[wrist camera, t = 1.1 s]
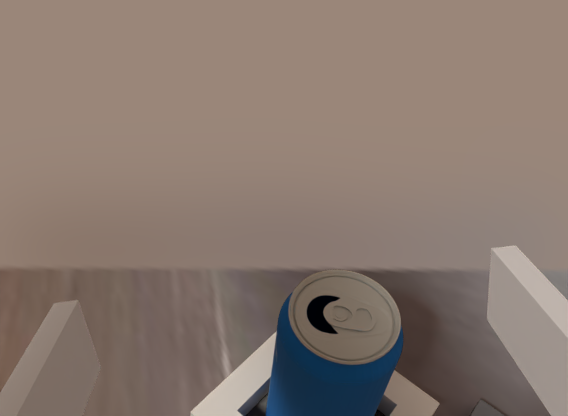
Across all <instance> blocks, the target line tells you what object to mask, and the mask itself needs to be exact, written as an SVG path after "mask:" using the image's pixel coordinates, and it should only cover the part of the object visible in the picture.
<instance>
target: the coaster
mask: <svg viewBox="0 0 568 416" xmlns="http://www.w3.org/2000/svg"><path fill="white" fill-rule="evenodd" d="M470 416H504V415H503V414H502V413H500V412H499V411H497V410H496V409H495V408H493V407H492V406H490V405H489V404H487V403H486V402H485V401H483V400H482V399H480V401H479V402H478V404H477V405H476V407H475V408H474V410H473V411H472V413H471V415H470Z"/></svg>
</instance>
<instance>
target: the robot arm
mask: <svg viewBox="0 0 568 416" xmlns="http://www.w3.org/2000/svg"><path fill="white" fill-rule="evenodd" d="M487 320H488V322H489V323H490V325H491V326H492V328H493V329H494V331H495V332H496V334H497V335H498V337H499V338H500V340H501V341H502V343H503V344H504V346H505V347H506V349H507V350H508V352H509V353H510V355H511V356H512V358H513V359H514V361H515V362H516V364H517V365H518V367H519V368H520V370H521V371H522V373H523V374H524V376H525V377H526V379H527V380H528V382H529V383H530V385H531V386H532V388H533V389H534V391H535V392H536V394H537V395H538V397H539V398H540V400H541V401H542V403H543V404H544V406H545V407H546V409H547V410H548V412H549V413H550V415H551V416H568V300H567V299H566V298H565V297H564V296H563V295H562V294H561V293H560V292H559V291H558V290H557V289H556V288H555V287H554V286H553V285H552V283H551V282H550V281H549V280H548V279H547V278H546V277H545V276H544V275H543V274H542V273H541V272H540V271H539V270H538V269H537V268H536V267H535V266H534V265H533V264H532V263H531V261H530V260H529V259H528V258H527V257H526V256H525V255H524V254H523V253H522V252H521V251H520V250H519V249H518V248H517V247H516V246H507V247H499V248H492V249H491V261H490V277H489V293H488V309H487ZM100 369H101V366H100V363H99V360H98V357H97V354H96V351H95V348H94V345H93V342H92V339H91V336H90V333H89V331H88V328H87V325H86V322H85V319H84V316H83V313H82V310H81V307H80V304H79V301H78V300H75V301H67V302H59V303H54V304H53V306H52V308H51V309H50V311H49V313H48V314H47V316H46V318H45V319H44V321H43V323H42V324H41V326H40V328H39V329H38V331H37V333H36V334H35V336H34V338H33V339H32V341H31V343H30V344H29V346H28V348H27V349H26V351H25V353H24V354H23V356H22V357H21V359H20V361H19V362H18V364H17V366H16V367H15V369H14V371H13V372H12V374H11V376H10V377H9V379H8V381H7V382H6V384H5V386H4V387H3V389H2V391H1V392H0V416H83V413H84V410H85V408H86V405H87V403H88V400H89V398H90V395H91V392H92V390H93V387H94V385H95V382H96V379H97V377H98V374H99V372H100Z"/></svg>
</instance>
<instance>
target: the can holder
mask: <svg viewBox="0 0 568 416" xmlns="http://www.w3.org/2000/svg"><path fill="white" fill-rule="evenodd" d="M276 333H277V331H276V332H275V333H274V334H273V335H272V336H271V337H270V338H269V339H268V340H267V341H266V342H265V343H264V344H262V345H261V346H260V347H259V348H258V349H257V350H256V351H255V352H254V353H253V354H252V355H251V356H250V357H249V358H248V359H246V360H245V361H244V362H243V363H242V364H241V365H240V366H239V367H238V368H237V369H236V370H235V371H234V372H233V373H231V374H230V375H229V376H228V377H227V378H226V379H225V380H224V381H223V382H222V383H221V384H220V385H219V386H218V387H217V388H215V389H214V390H213V391H212V392H211V393H210V394H209V395H208V396H207V397H206V398H205V399H204V400H203V401H202V402H201V403H199V404H198V405H197V406H196V407H195V408H194V409H193V410H192V411H191V412H190V413H191V416H246V415H247V414H248V413H249V411H250V410H251V409H252V408H253V407H254V406H255V405H256V404H257V403H258V402H259V401H260V400H261V399H262V398H263V397H264V396H265V395H266V394H267V393H268V392H269V386H270V378H271V370H272V363H273V355H274V348H275V340H276ZM439 404H440V403H439V402H437V401H436V400H435V399H433V398H432V397H430V396H429V395H428V394H426V393H425V392H424V391H422V390H421V389H420V388H418V387H417V386H415V385H414V384H413V383H411V382H410V381H409V380H407V379H406V378H405V377H403V376H402V375H401V374H399V373H398V372H396V371H395V370H394V371H393V374H392V376H391V378H390V381H389V383H388V385H387V388H386V390H385V392H384V394H383V397H382V399H381V401H380V404H379V406H378V408H377V409H378V410H379V411H380V412H382V413H383V414H384V415H386V416H433V414H434V412H435V411H436V409H437V407H438V406H439Z"/></svg>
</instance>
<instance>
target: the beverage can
mask: <svg viewBox="0 0 568 416" xmlns="http://www.w3.org/2000/svg"><path fill="white" fill-rule="evenodd" d="M402 348H403V331H402V326H401V317H400V312H399V309H398V307H397V304H396V302H395V301H394V299H393V298H392V296H391V295H390V294H389V292H388V291H387V290H386V289H385V288H384V287H382V286H381V285H380V284H379V283H377V282H376V281H374V280H373V279H371V278H369V277H367V276H365V275H362V274H360V273H356V272H353V271H348V270H325V271H321V272H318V273H315V274H312V275H310V276H308V277H307V278H305V279H304V280H303V281H302V282H300V283H299V284H298V286H297V287H296V288H295V290H294V291H293V292H292V293H291V294H290V295H289V297H288V298H287V299H286V301H285V302H284V304H283V306H282V308H281V310H280V314H279V318H278V325H277V333H276V340H275V348H274V355H273V363H272V370H271V378H270V386H269V393H268V401H267V408H266V416H374V415H375V413H376V411H377V408H378V406H379V404H380V401H381V399H382V397H383V394H384V392H385V390H386V388H387V385H388V383H389V381H390V378H391V376H392V374H393V371H394V369H395V367H396V365H397V362H398V360H399V358H400V355H401V352H402Z"/></svg>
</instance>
